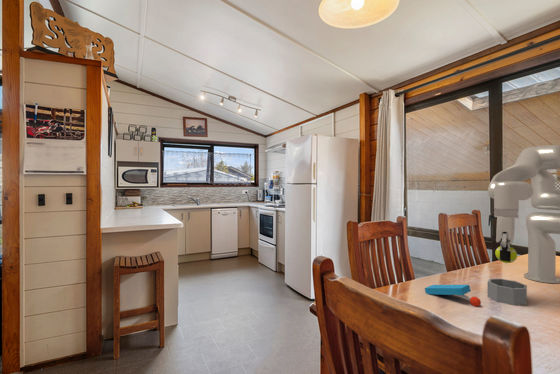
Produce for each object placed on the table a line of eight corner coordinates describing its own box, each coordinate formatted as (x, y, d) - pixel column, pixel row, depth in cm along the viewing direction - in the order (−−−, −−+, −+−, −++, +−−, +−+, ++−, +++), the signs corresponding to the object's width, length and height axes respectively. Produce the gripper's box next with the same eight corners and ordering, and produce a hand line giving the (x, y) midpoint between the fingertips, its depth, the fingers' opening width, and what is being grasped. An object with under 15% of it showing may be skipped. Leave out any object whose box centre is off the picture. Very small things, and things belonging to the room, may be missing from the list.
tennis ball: (511, 266, 107) (511, 248, 107) (491, 261, 113) (491, 244, 112) (520, 263, 110) (520, 246, 110) (500, 259, 116) (500, 243, 116)
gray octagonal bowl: (490, 291, 119) (490, 276, 119) (527, 298, 111) (527, 283, 111) (486, 299, 110) (486, 283, 110) (526, 307, 102) (526, 291, 102)
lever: (429, 306, 115) (477, 308, 101) (424, 288, 117) (471, 288, 103) (437, 302, 119) (485, 304, 105) (432, 284, 121) (479, 284, 107)
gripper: (496, 211, 120) (496, 253, 120) (491, 214, 107) (491, 261, 107) (520, 212, 115) (520, 256, 115) (517, 215, 102) (517, 265, 102)
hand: (506, 258), depth 111 cm, fingers closed on tennis ball, 6 cm apart
